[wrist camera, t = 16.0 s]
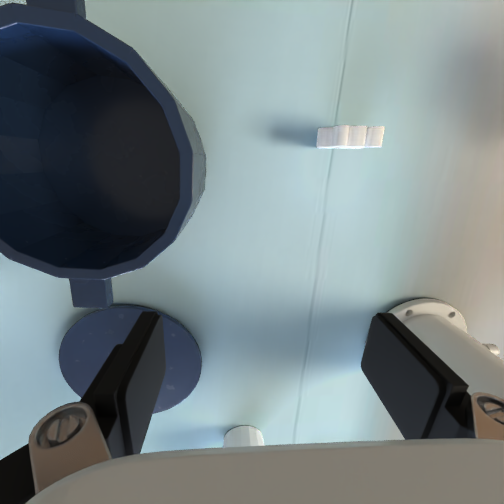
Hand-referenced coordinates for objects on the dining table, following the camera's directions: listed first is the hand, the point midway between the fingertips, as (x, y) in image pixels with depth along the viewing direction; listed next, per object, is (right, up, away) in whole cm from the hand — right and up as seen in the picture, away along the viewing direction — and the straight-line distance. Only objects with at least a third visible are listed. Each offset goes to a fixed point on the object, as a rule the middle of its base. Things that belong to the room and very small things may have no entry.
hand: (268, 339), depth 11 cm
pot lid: (-14, -9, +18) cm, 25 cm away
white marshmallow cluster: (+7, +14, +12) cm, 20 cm away
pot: (-12, +12, +12) cm, 21 cm away
